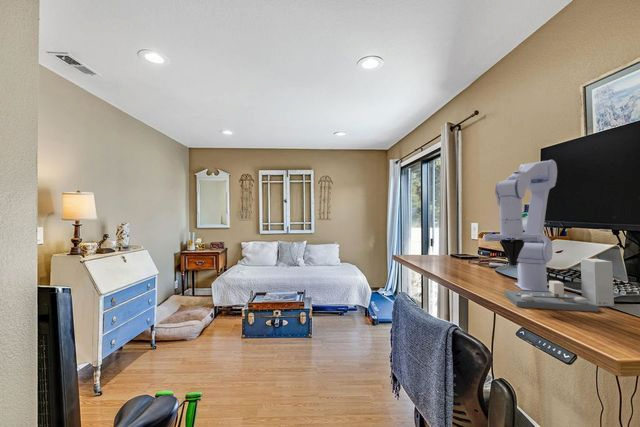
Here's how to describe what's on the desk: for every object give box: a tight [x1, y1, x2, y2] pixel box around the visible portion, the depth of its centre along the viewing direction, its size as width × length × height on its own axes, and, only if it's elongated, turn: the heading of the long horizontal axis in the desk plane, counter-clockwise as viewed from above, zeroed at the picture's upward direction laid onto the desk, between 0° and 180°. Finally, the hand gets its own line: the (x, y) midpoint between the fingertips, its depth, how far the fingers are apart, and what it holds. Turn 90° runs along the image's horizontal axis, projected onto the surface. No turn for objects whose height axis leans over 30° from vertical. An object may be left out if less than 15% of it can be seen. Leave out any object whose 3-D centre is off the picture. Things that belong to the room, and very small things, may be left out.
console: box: [503, 289, 600, 312], centre depth 84 cm, size 12×18×3 cm, turn 72°
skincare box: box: [580, 258, 615, 307], centre depth 82 cm, size 6×4×12 cm
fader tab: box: [548, 280, 565, 297], centre depth 83 cm, size 3×2×4 cm
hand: (512, 265), depth 88 cm, fingers closed
